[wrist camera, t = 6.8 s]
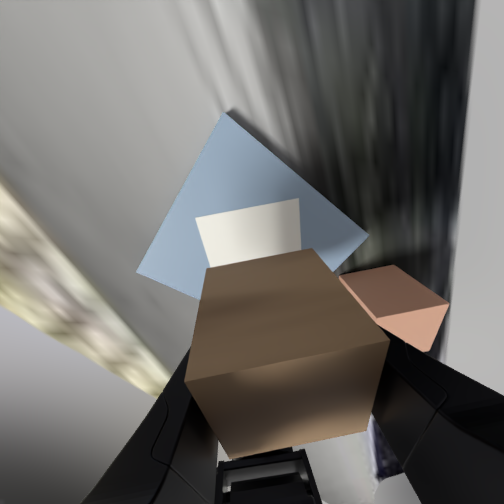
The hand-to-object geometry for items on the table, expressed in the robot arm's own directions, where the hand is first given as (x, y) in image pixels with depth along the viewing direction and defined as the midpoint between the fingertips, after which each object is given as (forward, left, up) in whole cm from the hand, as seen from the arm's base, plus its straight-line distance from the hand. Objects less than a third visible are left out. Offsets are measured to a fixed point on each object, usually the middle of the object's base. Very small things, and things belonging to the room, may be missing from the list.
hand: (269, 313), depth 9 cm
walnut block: (0, 0, -1) cm, 1 cm away
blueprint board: (0, 0, -7) cm, 7 cm away
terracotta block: (+2, -11, -7) cm, 13 cm away
